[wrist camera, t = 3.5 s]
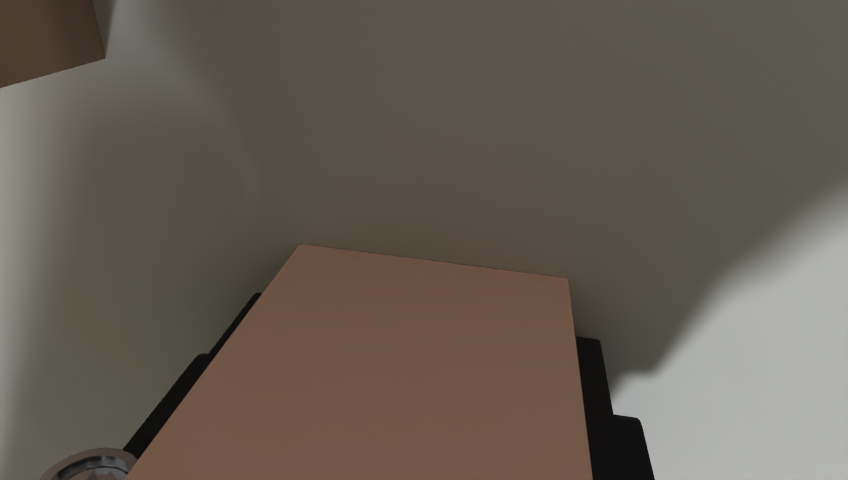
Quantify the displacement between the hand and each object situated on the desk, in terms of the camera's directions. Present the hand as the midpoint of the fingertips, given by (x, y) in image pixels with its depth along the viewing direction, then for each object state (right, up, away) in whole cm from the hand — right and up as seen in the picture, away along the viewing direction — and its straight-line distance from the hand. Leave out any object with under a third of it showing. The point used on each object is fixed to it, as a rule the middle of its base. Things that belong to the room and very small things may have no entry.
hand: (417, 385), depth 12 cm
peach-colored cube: (0, 0, 0) cm, 0 cm away
